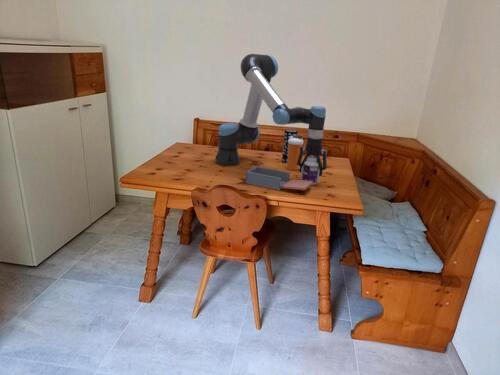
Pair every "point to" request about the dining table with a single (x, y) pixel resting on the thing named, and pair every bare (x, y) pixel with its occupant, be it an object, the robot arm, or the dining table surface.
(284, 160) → the spotted tube
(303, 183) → the tailgate
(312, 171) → the pill bottle
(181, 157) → the dining table surface
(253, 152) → the dining table surface
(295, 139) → the shaker bottle
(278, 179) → the grey open box
